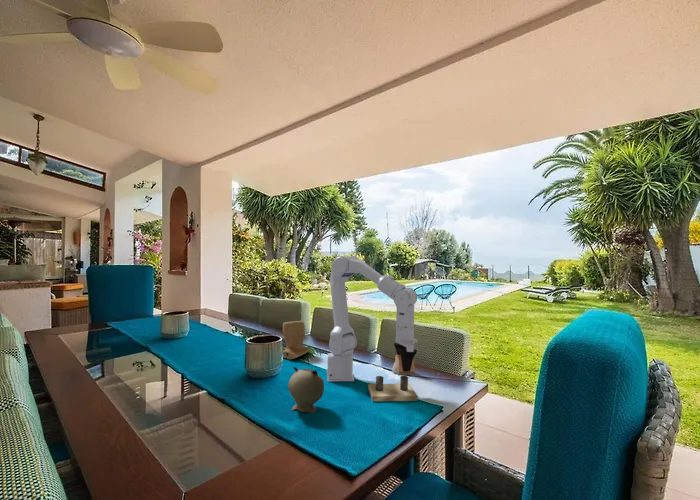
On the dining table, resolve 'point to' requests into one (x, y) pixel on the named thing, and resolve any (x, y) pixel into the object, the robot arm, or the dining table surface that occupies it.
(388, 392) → the pin board
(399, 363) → the sleeve
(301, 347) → the tan wooden stand
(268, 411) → the dining table surface
